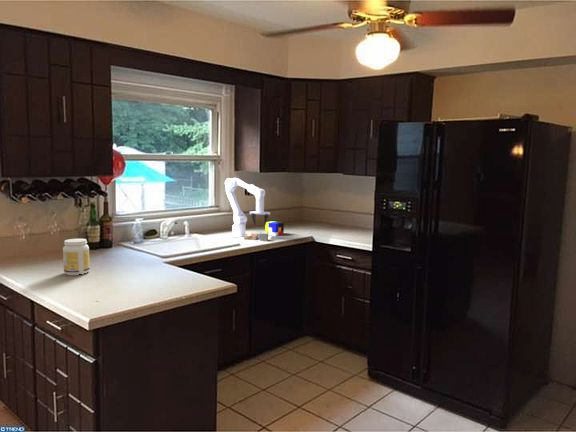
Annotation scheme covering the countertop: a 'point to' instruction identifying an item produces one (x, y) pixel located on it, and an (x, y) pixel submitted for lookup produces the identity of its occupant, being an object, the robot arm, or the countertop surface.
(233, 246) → the countertop surface
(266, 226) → the puzzle toy
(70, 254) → the supplement tub
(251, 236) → the collar
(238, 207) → the robot arm
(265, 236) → the block
